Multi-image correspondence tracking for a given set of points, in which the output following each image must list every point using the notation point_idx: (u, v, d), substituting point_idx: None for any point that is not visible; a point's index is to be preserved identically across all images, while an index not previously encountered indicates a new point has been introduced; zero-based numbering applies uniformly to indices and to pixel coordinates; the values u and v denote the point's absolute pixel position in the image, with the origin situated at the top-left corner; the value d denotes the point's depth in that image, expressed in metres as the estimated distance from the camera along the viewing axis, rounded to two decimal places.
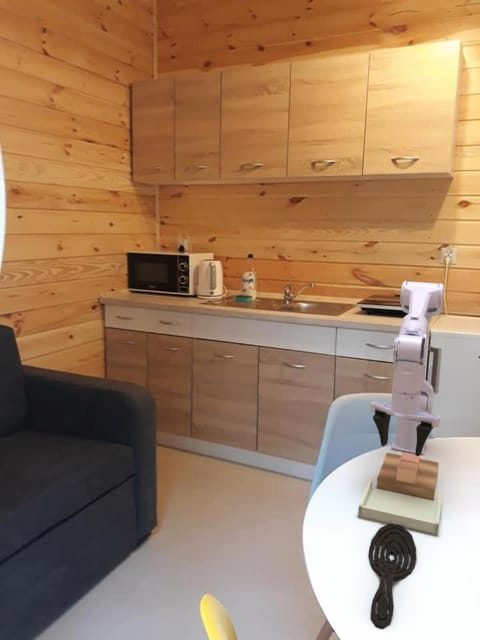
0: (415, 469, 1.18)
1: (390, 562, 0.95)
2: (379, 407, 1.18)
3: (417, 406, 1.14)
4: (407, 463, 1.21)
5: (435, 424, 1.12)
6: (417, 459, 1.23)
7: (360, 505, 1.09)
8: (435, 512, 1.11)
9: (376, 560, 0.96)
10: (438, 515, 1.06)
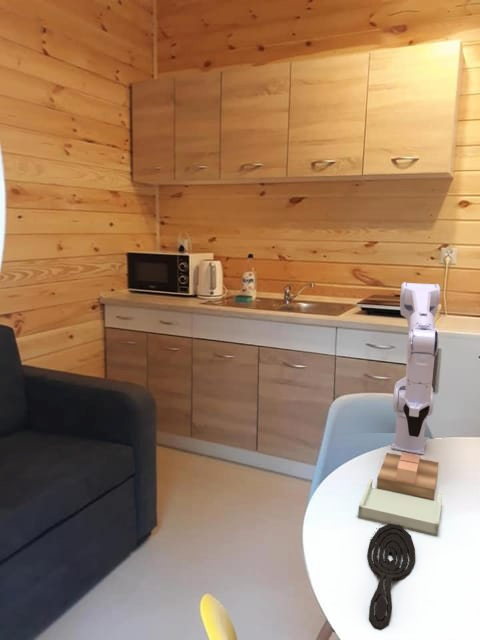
0: (415, 469, 1.18)
1: (389, 563, 0.95)
2: None
3: (415, 395, 1.24)
4: (407, 463, 1.21)
5: (409, 412, 1.21)
6: (417, 459, 1.23)
7: (360, 505, 1.09)
8: (435, 512, 1.11)
9: (375, 561, 0.95)
10: (438, 515, 1.06)
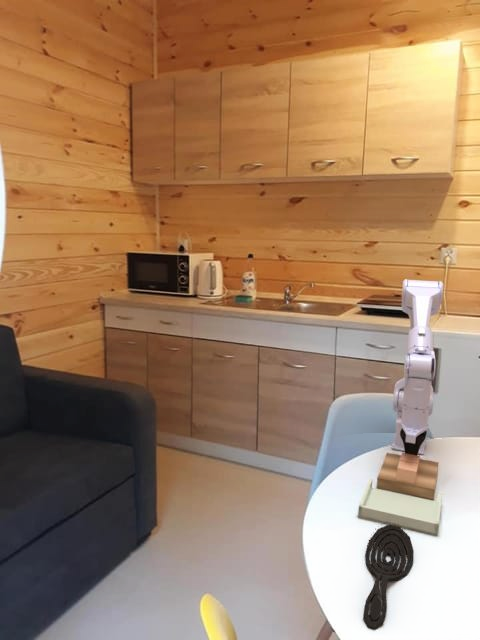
0: (415, 469, 1.18)
1: (386, 563, 0.95)
2: None
3: (411, 420, 1.22)
4: (407, 463, 1.21)
5: (405, 438, 1.19)
6: (417, 459, 1.22)
7: (360, 505, 1.09)
8: (435, 512, 1.11)
9: (372, 561, 0.95)
10: (438, 515, 1.06)
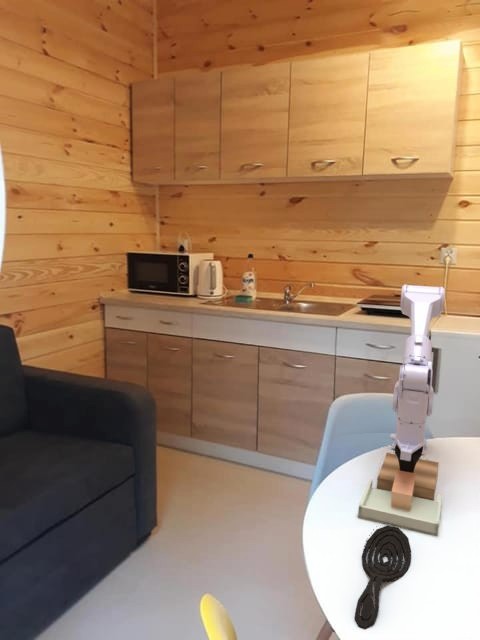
0: (409, 506, 1.12)
1: (383, 564, 0.95)
2: None
3: (407, 436, 1.14)
4: (400, 495, 1.11)
5: (400, 456, 1.11)
6: (412, 480, 1.14)
7: (360, 505, 1.09)
8: (435, 512, 1.11)
9: (369, 561, 0.95)
10: (438, 515, 1.06)
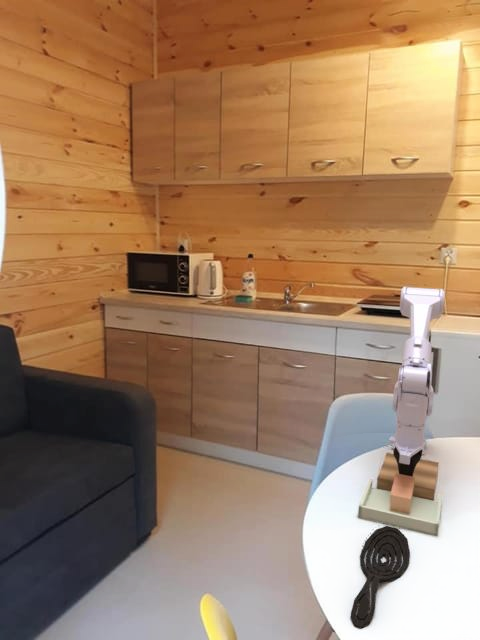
0: (408, 509, 1.10)
1: (381, 564, 0.95)
2: None
3: (406, 439, 1.12)
4: (399, 499, 1.10)
5: (399, 459, 1.09)
6: (411, 483, 1.13)
7: (360, 505, 1.09)
8: (435, 512, 1.11)
9: (367, 561, 0.95)
10: (438, 515, 1.06)
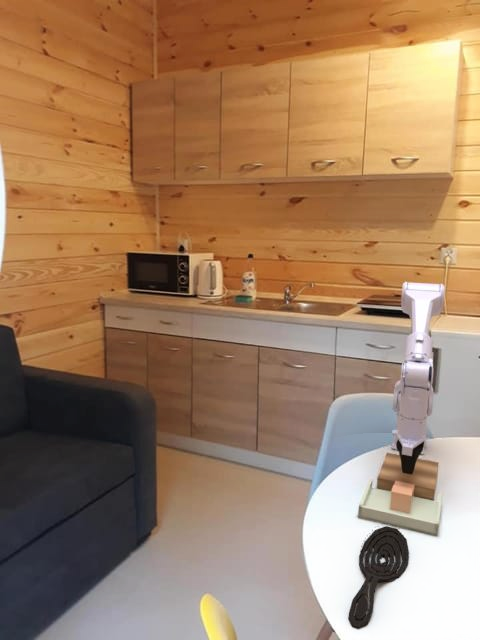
0: (408, 509, 1.10)
1: (380, 565, 0.94)
2: None
3: (408, 431, 1.16)
4: (399, 496, 1.11)
5: (402, 451, 1.13)
6: None
7: (360, 505, 1.09)
8: (435, 512, 1.11)
9: (366, 562, 0.95)
10: (438, 515, 1.06)
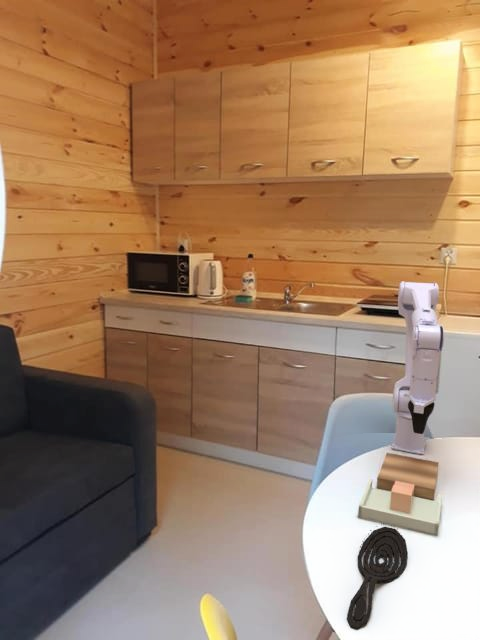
0: (408, 509, 1.10)
1: (378, 565, 0.94)
2: None
3: (419, 392, 1.22)
4: (399, 496, 1.11)
5: (414, 409, 1.19)
6: None
7: (360, 505, 1.09)
8: (435, 512, 1.11)
9: (364, 562, 0.95)
10: (438, 515, 1.06)
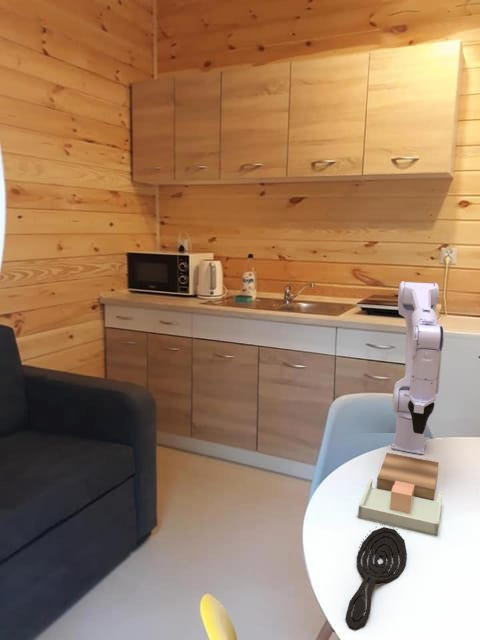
0: (408, 509, 1.10)
1: (377, 566, 0.94)
2: None
3: (419, 392, 1.22)
4: (399, 496, 1.11)
5: (414, 409, 1.19)
6: None
7: (360, 505, 1.09)
8: (435, 512, 1.11)
9: (363, 563, 0.95)
10: (438, 515, 1.06)
